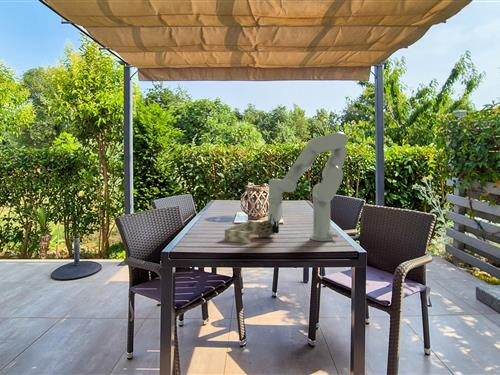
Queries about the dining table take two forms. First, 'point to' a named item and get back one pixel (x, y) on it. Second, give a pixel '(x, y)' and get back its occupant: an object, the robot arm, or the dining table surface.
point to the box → (241, 232)
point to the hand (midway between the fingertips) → (275, 232)
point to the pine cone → (262, 229)
